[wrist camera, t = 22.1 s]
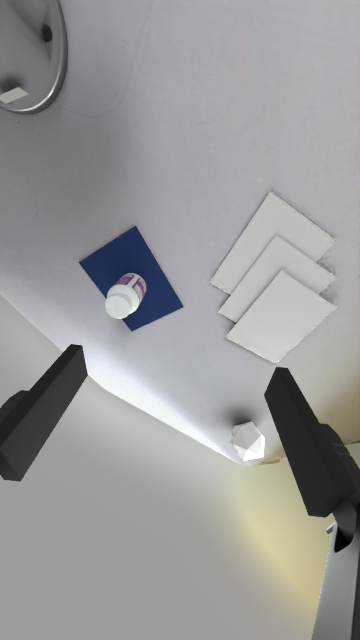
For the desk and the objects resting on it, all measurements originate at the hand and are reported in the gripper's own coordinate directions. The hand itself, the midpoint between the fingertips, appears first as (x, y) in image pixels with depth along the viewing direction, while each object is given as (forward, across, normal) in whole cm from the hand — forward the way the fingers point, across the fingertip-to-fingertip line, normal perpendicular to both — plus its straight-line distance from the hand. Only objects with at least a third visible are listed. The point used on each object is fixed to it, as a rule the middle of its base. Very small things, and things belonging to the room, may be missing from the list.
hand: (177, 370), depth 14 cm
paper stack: (+27, +17, -3) cm, 32 cm away
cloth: (+27, -10, -4) cm, 29 cm away
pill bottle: (+27, -10, -4) cm, 29 cm away
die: (+27, +22, -44) cm, 56 cm away
